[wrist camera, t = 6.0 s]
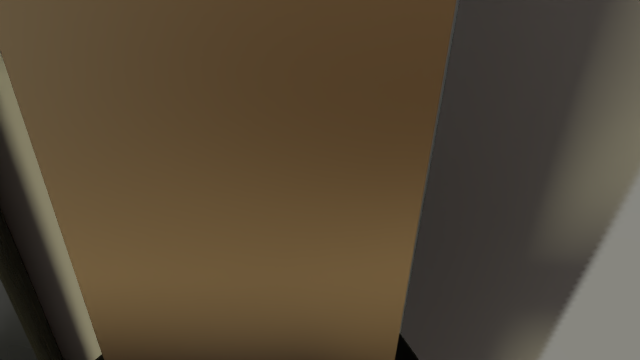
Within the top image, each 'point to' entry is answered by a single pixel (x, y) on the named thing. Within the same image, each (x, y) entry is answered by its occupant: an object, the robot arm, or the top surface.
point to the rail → (234, 166)
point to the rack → (21, 309)
